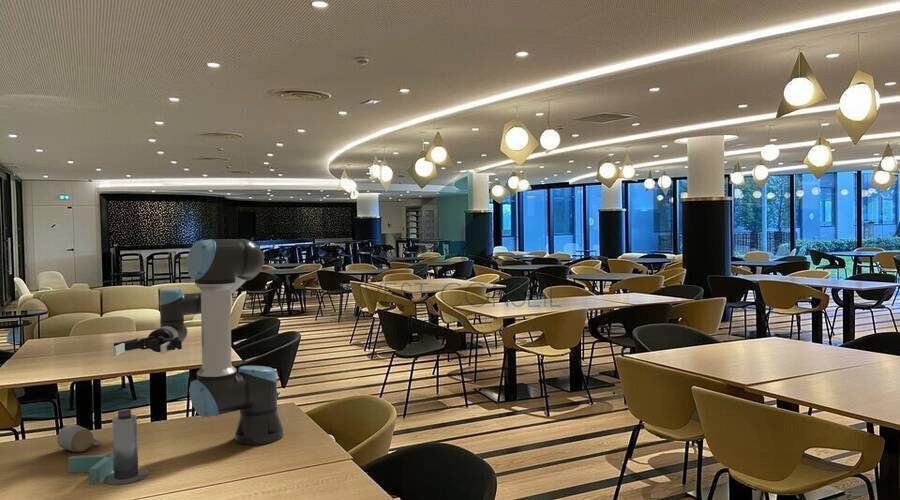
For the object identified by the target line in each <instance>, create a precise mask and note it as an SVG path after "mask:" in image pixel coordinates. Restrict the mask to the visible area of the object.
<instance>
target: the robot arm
mask: <svg viewBox="0 0 900 500" xmlns="http://www.w3.org/2000/svg"><path fill="white" fill-rule="evenodd" d="M264 264H265V258H264V254H263V251H262V250H261V248H260V246H259V245H258V244H257V243H255V242H254V241H252V240H249V239H245V238H236V239H235V238H234V239H233V238H232V239H231V238H230V239H225V238H223V239H211V238H210V239H201V240H198V241H195V243H194V244H192V245H191V247H190V250H189V252H188V255H187V261H186V270H187V271H188V272H187V273H188V276H189V277H190V278H191V279H193V280H195V281H194V282H195V285H196V287H197V288H199V290H200V292H194V293H184V290H183V289H181V288H170V289H169V288H168V289H162V290H161V291H160V293H159V304H158V305H159V317H160V319H159V320H160V321H159V322H160V324H159V325H160V327H159V328H157V329H154V330H153V331H151V332H150V333H149V334H148V336H147V337H141V338H139V337H138V338H134V339H129V340H125V341H124V340H123V341H119V342H115V343H113V347H112V348H113V349H112V353H113V355H112V356H113V357H116V356H117V357H118V356H119V355H123V354H124V353H126V352H128V351H133V350H139V349H140V350H142V351H143V350H152V351H153V352H155V353H160V355H165V354H167V353H168V352H171V351H174V350H176V349H177V350H182V348H183V345H182V343H183V342H184V341H185V340H186V339H187V336H188V333H189V332H188V331H189V330H188V328H187V326H186V325H185V319H184V318H185V316H193V315H200V317H201V319H200V321H201V322H200V324H201V326H200V328H201V329H200V331H201V368H200V369H199V370H198V371H197V372H196V379H195V380H192V381H191V382H190V385H189V389H188V391H189V398H190V401H191V405H192V407H193V408H194V411H195V412H196V413H197V414H198V415H199V416H200V417H202V418H209V417H219V415H225V414H229V413H235V412H238V411H239V419H238V422H237V425H236V428H235V432H234V441H235V442H236V443H238V444H240V445H249V446H250V445H252V446H255V445H265V444H270V443H273V442H277V441H278V440H281V439H282V438H283V437H284V426H283V425H282V421H281V418H280V416H279V413H278V392H277V391H278V390H277V389H278V388H277V386H278V385H277V384H278V383H277V382H278V381H277V379H278V378H277V372H276V370H275V369H274V368H272V367H271V366H263V365H243V366H240V367H239V368H238V370H237V368H236V367H234V366H233V364H232V314H231V313H232V311H231V309H232V308H231V296H232V294H234V293H235V292H236V291H237V290H238V289H239V288H240V287H241V286H243V285H244V284H245V283H246V282H247V281H250V280H253V279H254V278H255V277H257V276H258V275H259V274H260V273H261V271H262V269H263V267H264ZM237 371H238V372H237Z"/></svg>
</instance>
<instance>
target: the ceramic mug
mask: <svg viewBox="0 0 900 500" xmlns="http://www.w3.org/2000/svg"><path fill="white" fill-rule="evenodd" d="M56 439H57V440H56V441H57V444H58V446H59V447H60V448H61V449H63V450H68V451H71V452H73V453H81V452H86V450H88V449H89V448H90V447H91V446H95V447H96V446H99V444H100V440H99V439H97V438H94V434H93V433H92V431H91V430H89V429H88V428H86V427H83V426H80V425H78V424H74V423H70V424H67V425H64V426H63V427H62V428H61V429H60V431H59V432H58V435H57V437H56Z"/></svg>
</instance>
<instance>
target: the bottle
mask: <svg viewBox="0 0 900 500" xmlns="http://www.w3.org/2000/svg"><path fill="white" fill-rule="evenodd" d="M111 420H112V423H111V424H112V447H113V448H112V451H113V453H112V454H113V455H114V470H113V473H114V478H115V479H118V480H123V479H129V478H133V477H135V476H137V475H138V474H139V472H138V468H139V448H138V447H139V443H138V416H137V415H135V414H132V410H131V409H130V408H123V409H119V410H117V416H115V417H113V418H112V419H111Z"/></svg>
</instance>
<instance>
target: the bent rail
mask: <svg viewBox="0 0 900 500" xmlns="http://www.w3.org/2000/svg"><path fill="white" fill-rule="evenodd" d="M67 464H68V467H67V468H68V469H67V470H68V473H86V472H88V477H89V478H88V480H89V482H88V483H89V484H88V485H98V484H99V483H100V482H101V481H102V480H104V478H105V477H106V476H107V475H109V474H111V473H113V472H114V455H113V453H108V454H92V455H91V454H89V455H87V454H86V455H71V456H69V457H68V458H67Z"/></svg>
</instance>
